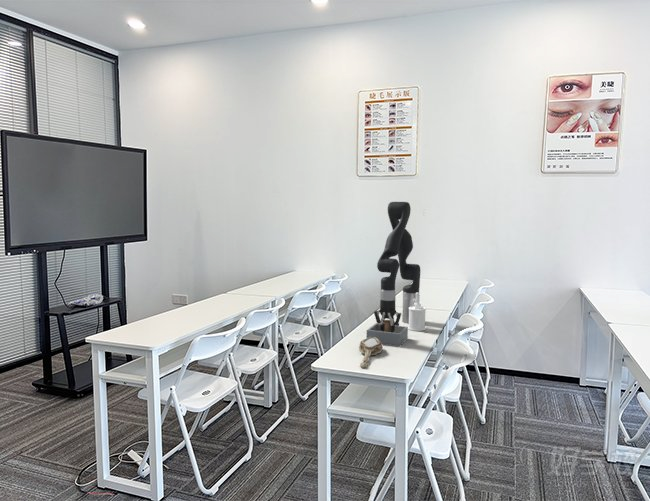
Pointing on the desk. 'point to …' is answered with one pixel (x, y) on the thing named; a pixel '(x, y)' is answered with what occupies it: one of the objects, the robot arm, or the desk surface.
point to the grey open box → (389, 335)
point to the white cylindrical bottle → (417, 315)
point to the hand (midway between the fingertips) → (387, 331)
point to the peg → (387, 326)
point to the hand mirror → (369, 349)
